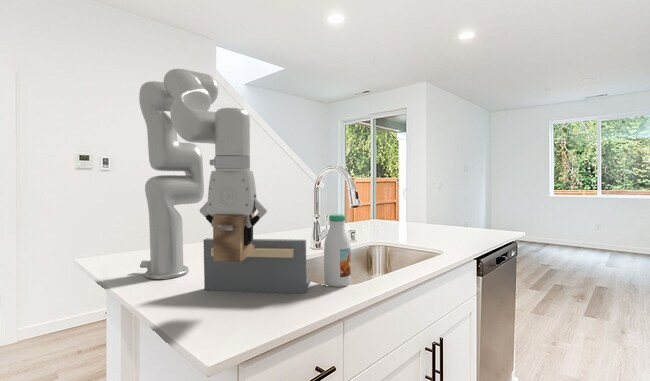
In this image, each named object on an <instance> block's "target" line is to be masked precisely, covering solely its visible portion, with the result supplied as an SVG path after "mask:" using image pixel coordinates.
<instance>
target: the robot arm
mask: <svg viewBox="0 0 650 381" xmlns="http://www.w3.org/2000/svg"><path fill="white" fill-rule="evenodd" d="M218 95H219V85H218V83H217V81H216V80H215V78H214V77H213V76H211V75H209V74H207V73H203V72H198V71H193V70H189V69H185V68H173V69H171V70H168V71H167V72H166V74H164V76H163V81H156V80H155V81H146V82H144V83H143V84H142V85H141V86H140V89H139V93H138V96H139V98H138V100H139V107H140V111H141V113H142V116H143V119H144V122H145V125H146V131H147V147H148V148H147V151H148V162H149V165H150V167H151V168H152V169H153V170H155V171H160V172H184V175H174V174H172V175H171V174H168V175H165V174H164V175H155V176H152V177H150V178H149V179H148V180H147V181H146V182H145V185H144V193H145V198H146V202H147V208H148V221H149V253H150V255H149V256H150V259H149V260H141V262H140V265H139V268H141V269H143V268H146V271H145V273H144V275H145V278H147V279H149V280H167V279H173V278H179V277H182V276H184V275H186V274H188V273H189V266H186V265H184V242H183V241H184V240H183V239H184V238H183V234H184V233H183V217H182V216H181V214H180V212H179V211H178V210H177V209H176V208H175V207H174V206H178V205H193V204H198V203H200V202H201V201H202V200H203V198H204V195H205V194H204V193H205V184H204V182H205V181H204V162H203V154H202V152H201V150H200V149H201V148H199V146H198V145H196V144H195V143H198V144H212V145H213V144H214V151H215V152H214V155H215V156H214V158H213V159H209V165H210V166H213V167H214V169H215V170H211V172H210V176H209V182H208V183H209V184H208V191H207V202H205V203H204V205H202V207H200V209H199V213H200V214H202V216H203V217H204V218H205V219H206V220H207V222H208V223H209V224H210V225H211V227H212V228H213V215H242V216H244V222H245V224H246V228H244V245H245V246H248V245H249V244H251V241H253V239H254V226H255V225H256V224H257V223H258V222H259V221H260V220H261V219H262V218H263V217H264V216H265V215H266V214H268V213H267V212H268V210H267V208H266V207H264V205H262V203H261V202H260V201H259V200H258V199H257V189H256V182H255V176H254V171H253V170H252V171H251V144H250V141H251V136H250V135H251V132H250V130H251V128H250V127H251V125H250V124H251V122H250V121H251V119H250V114H249V112H248V111H247V110H244V109H242V108H238V107H222V108H219V109H217V110H216V111H211V110H209V109H210V107H211V105H212V104H214V103H215V101H216V100H217V98H218ZM166 112H170V113H169V114H170V116H169V115H168V113H166ZM178 136H179V137H180V138H181V139H183V140H184V141H186V142H180V141H179V140H178ZM256 211H257V213H256V214H255V212H256ZM251 213H254V217H252V214H251Z"/></svg>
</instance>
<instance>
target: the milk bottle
mask: <svg viewBox="0 0 650 381" xmlns="http://www.w3.org/2000/svg"><path fill="white" fill-rule="evenodd" d="M328 220H329V221H328V222H329V229H328V231H327V234H326V236H325V238H324V245H323V248H324V249H323V282H324V284H325V285H326V286H329V287H333V288H341V287H347V286H349V285H350V284H351V281H352V278H351V276H352V275H351V273H352V271H351V270H352V265H351V263H352V261H351V251H352V250H351V240H350V237H349V235H348V233H347V230H346V226H345V223H346V215H345V214H340V213H338V214H336V213H335V214H333V213H332V214H329V217H328Z"/></svg>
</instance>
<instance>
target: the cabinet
mask: <svg viewBox="0 0 650 381" xmlns="http://www.w3.org/2000/svg"><path fill="white" fill-rule="evenodd" d="M251 214H252V217H254V216H255V212H254V213H251ZM244 228H246V224H245V222H244V216H242V215H213V227H212V236H213V237H212V238H213V261H227V262H241V261H242V260H243V259H245V258H246V257H247V256H249V255H250V254H251V253H253V252H254V245H252V241H251V244H249V245H248V246H245V245H244Z"/></svg>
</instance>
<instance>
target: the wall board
mask: <svg viewBox="0 0 650 381" xmlns="http://www.w3.org/2000/svg"><path fill="white" fill-rule="evenodd" d="M252 245H254V252H253V253H251V254H250V255H249V256H247V257H246V258H245V259H243V260H242V261H241V262H227V261H213V237H212V238H210V237H209V238H208V237H206V238H205V239H203V272H204V273H203V279H204V282H203V283H204V284H203V285H204V291H210V290H211V291H212V292H213V291H215V292H219V291H220V292H224V291H225V292H245V293H246V292H249V293H250V292H251V293H281V294H282V293H283V294H284V293H286V294H289V293H290V294H291V293H292V294H306V293H307V290H308V288H309V286H310V283H311V279H312V278H311V277H307V239H286V238H285V239H284V238H283V239H282V238H277V239H276V238H274V239H273V238H253V241H252Z"/></svg>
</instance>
